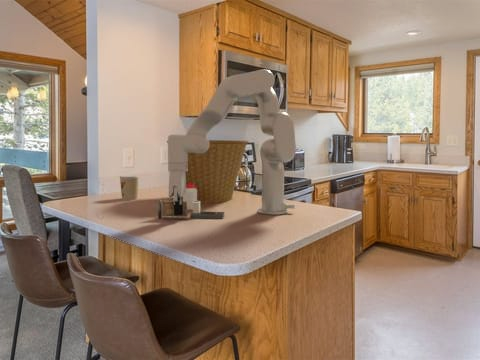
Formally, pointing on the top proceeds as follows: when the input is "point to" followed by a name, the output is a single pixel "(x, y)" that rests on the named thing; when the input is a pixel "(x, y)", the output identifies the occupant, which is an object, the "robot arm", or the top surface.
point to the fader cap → (196, 207)
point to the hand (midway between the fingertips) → (178, 214)
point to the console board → (208, 215)
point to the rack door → (169, 209)
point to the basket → (216, 170)
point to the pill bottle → (190, 195)
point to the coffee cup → (129, 187)
